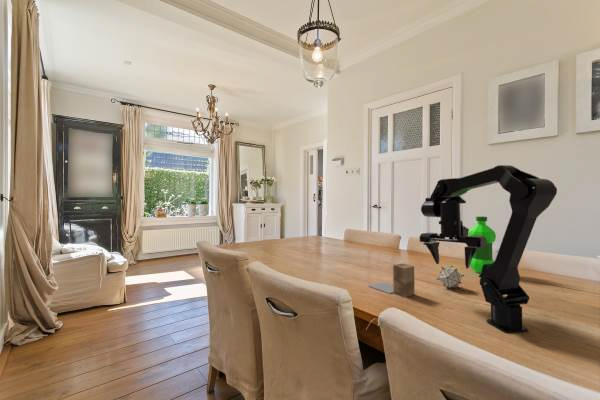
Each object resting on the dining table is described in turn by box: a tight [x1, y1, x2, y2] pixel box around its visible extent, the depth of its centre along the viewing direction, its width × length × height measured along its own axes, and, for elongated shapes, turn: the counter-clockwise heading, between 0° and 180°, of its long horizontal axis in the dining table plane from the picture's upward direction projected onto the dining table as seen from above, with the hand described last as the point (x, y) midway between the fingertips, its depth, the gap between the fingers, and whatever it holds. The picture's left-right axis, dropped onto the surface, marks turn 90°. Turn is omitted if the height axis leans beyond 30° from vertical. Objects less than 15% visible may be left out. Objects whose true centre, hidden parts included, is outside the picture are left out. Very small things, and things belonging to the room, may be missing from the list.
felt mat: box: [368, 281, 394, 295], centre depth 105 cm, size 10×8×1 cm
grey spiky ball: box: [436, 265, 465, 290], centre depth 103 cm, size 9×8×10 cm
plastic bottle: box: [468, 216, 496, 274], centre depth 124 cm, size 10×10×25 cm
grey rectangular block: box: [392, 263, 415, 298], centre depth 98 cm, size 5×5×10 cm
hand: (452, 266), depth 89 cm, fingers open, 9 cm apart
